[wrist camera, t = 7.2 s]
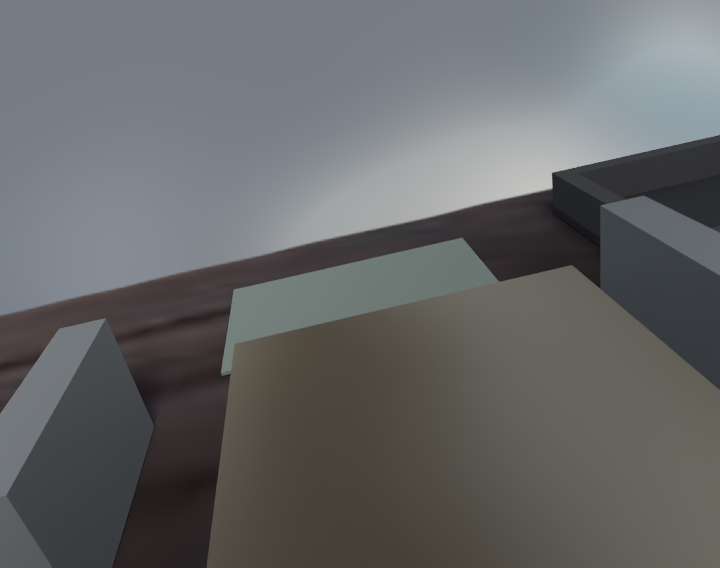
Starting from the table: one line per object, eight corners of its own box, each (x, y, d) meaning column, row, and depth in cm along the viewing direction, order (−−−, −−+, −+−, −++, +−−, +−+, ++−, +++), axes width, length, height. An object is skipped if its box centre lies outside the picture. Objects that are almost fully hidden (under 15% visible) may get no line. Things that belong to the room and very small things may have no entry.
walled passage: (639, 311, 28) (643, 195, 25) (812, 452, 19) (847, 295, 16) (112, 436, 27) (59, 328, 24) (30, 647, 18) (-69, 513, 15)
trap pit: (740, 171, 41) (745, 129, 40) (945, 239, 28) (962, 182, 27) (553, 213, 40) (552, 172, 39) (678, 302, 28) (682, 247, 27)
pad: (462, 240, 39) (462, 237, 39) (517, 306, 30) (517, 303, 30) (234, 292, 39) (234, 289, 39) (222, 375, 30) (221, 372, 30)
